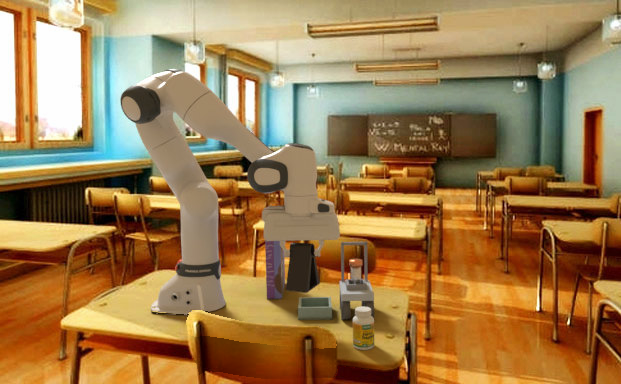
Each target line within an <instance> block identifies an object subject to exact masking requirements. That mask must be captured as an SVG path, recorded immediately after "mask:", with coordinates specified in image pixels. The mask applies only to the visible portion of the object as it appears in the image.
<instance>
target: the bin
mask: <svg viewBox="0 0 621 384" xmlns="http://www.w3.org/2000/svg"><path fill="white" fill-rule="evenodd" d="M332 306H333V305H332V297H331V296H308V297H307V296H304V297H303V296H302V297H300V296H299V297H298V306H297V317H298V321H301V320H302V321H307V320H309V321H310V320H312V321H313V320H314V321H315V320H316V321H318V320H319V321H320V320H333V307H332Z"/></svg>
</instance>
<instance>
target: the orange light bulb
mask: <svg viewBox="0 0 621 384" xmlns="http://www.w3.org/2000/svg"><path fill="white" fill-rule="evenodd" d="M348 265H349V267H350V279H351V284H361V279H362V266H363V259H361V258H350V259H348Z"/></svg>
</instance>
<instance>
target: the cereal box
mask: <svg viewBox="0 0 621 384" xmlns="http://www.w3.org/2000/svg"><path fill="white" fill-rule="evenodd" d="M264 247H265V279H266V282H265V283H266V285H265V287H266V300H282V299H283V295H284V292H285V291H284V290H285V286H286V272H285V271H286V269H285V268H286V267H285V265H286V264H285V263H286V261H285V257H284V251H283V249H282V248H281V246H280V241H266V240H265V239H264Z"/></svg>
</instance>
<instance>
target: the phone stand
mask: <svg viewBox="0 0 621 384" xmlns="http://www.w3.org/2000/svg"><path fill="white" fill-rule="evenodd" d="M315 249H316V248H315V244H314V243H307V242H296V241H295V242H294V241H293V242H290V244H289V250H290V257H289V259H288V260H289V261H288V267H287V268H288V269H287V274H286V275H287V277H286V282H285V286H286V287H285V290H286V291H287V292H295V293H303V294H304V293H306V294H307V293H309V292H311V291H312V290H313V289H315V288H316V287H317V286H319V285H320V284H321V283H320V282H321V281H320V275H319V271H318V266H317V259H316V257H315Z"/></svg>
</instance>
